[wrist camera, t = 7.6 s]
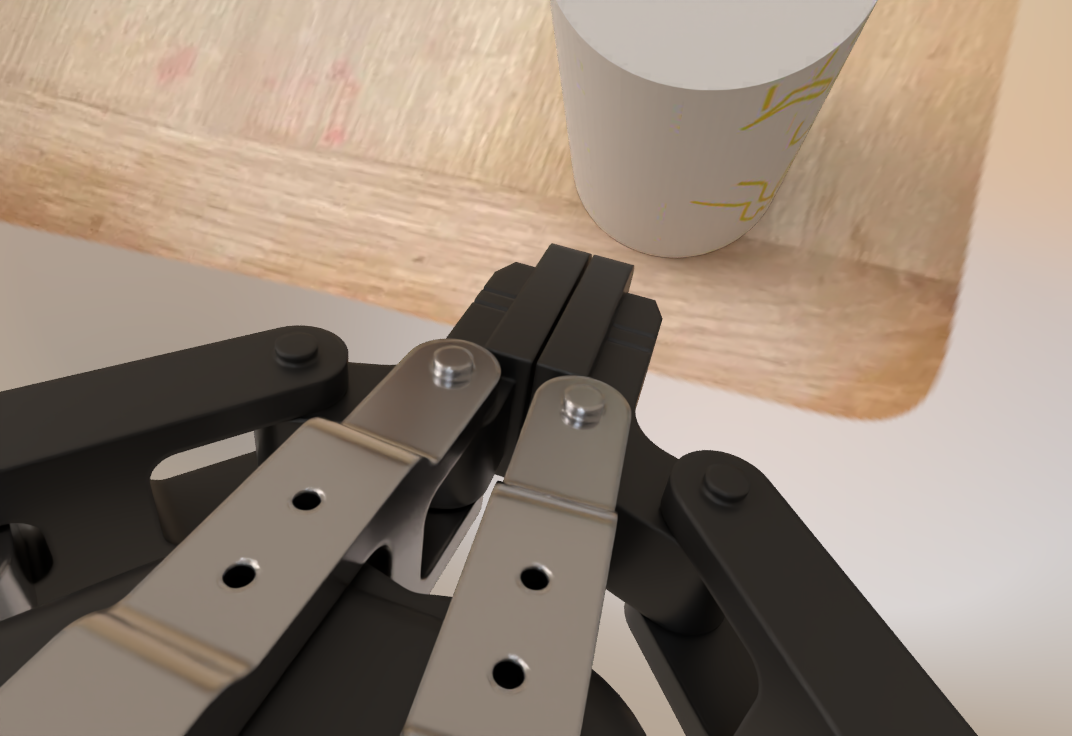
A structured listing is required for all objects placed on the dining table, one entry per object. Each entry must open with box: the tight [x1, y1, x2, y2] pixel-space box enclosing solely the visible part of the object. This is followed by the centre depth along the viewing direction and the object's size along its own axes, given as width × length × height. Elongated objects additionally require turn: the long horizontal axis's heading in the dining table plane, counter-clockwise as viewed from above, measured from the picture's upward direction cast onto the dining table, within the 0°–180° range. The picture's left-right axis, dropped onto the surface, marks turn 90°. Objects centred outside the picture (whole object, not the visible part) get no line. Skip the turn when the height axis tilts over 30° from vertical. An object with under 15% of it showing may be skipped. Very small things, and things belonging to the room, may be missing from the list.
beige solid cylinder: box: [550, 0, 878, 258], centre depth 23 cm, size 8×8×12 cm
